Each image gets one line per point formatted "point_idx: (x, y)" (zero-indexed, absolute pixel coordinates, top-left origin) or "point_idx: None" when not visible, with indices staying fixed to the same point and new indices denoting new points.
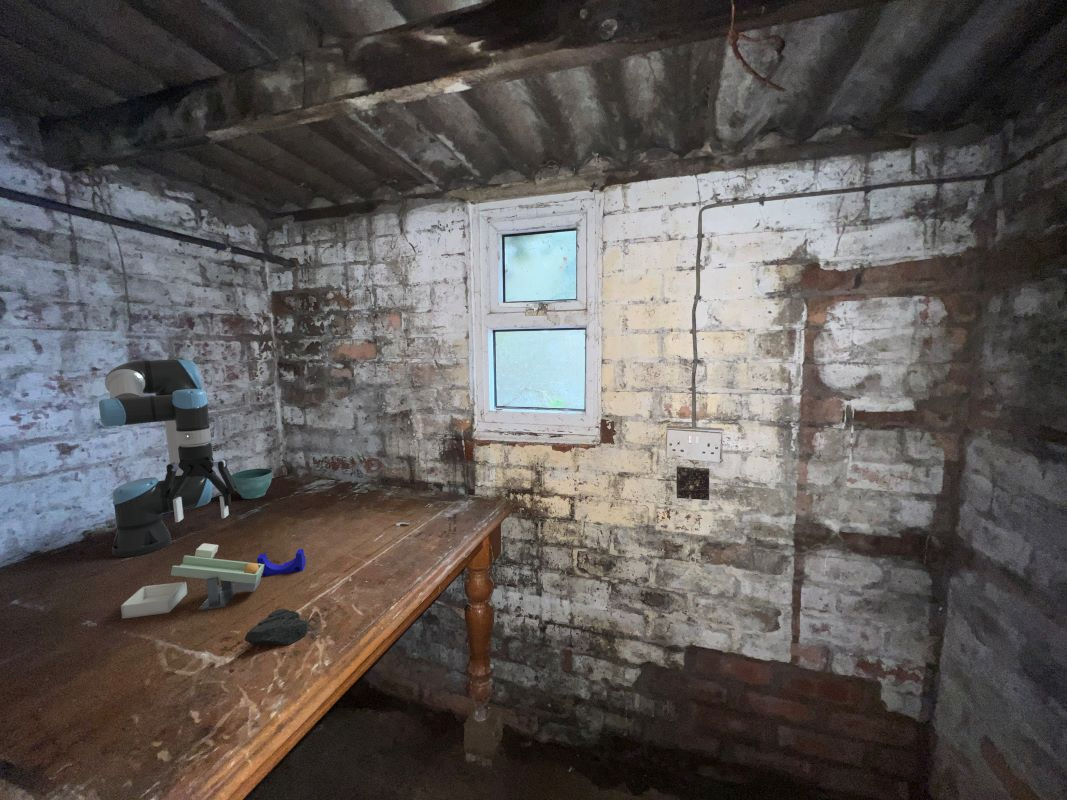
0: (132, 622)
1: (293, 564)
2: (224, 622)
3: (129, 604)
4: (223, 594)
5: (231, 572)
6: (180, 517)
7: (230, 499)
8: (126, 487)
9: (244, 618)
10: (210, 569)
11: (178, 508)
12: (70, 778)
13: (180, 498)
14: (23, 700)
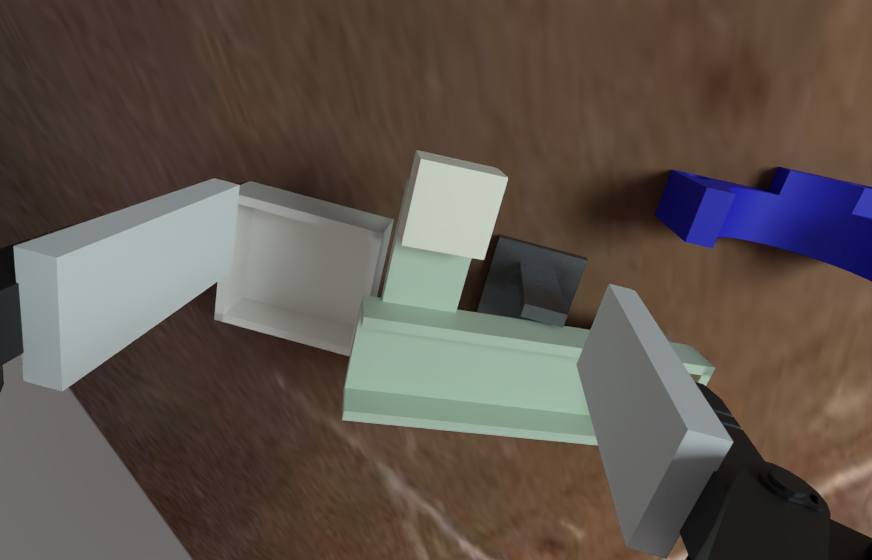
0: (279, 338)
1: (827, 262)
2: (541, 474)
3: (239, 324)
4: (526, 319)
5: (579, 442)
6: (220, 242)
7: (735, 434)
8: None
9: (595, 483)
10: (498, 428)
11: (155, 296)
12: None
13: (73, 275)
14: (195, 537)
